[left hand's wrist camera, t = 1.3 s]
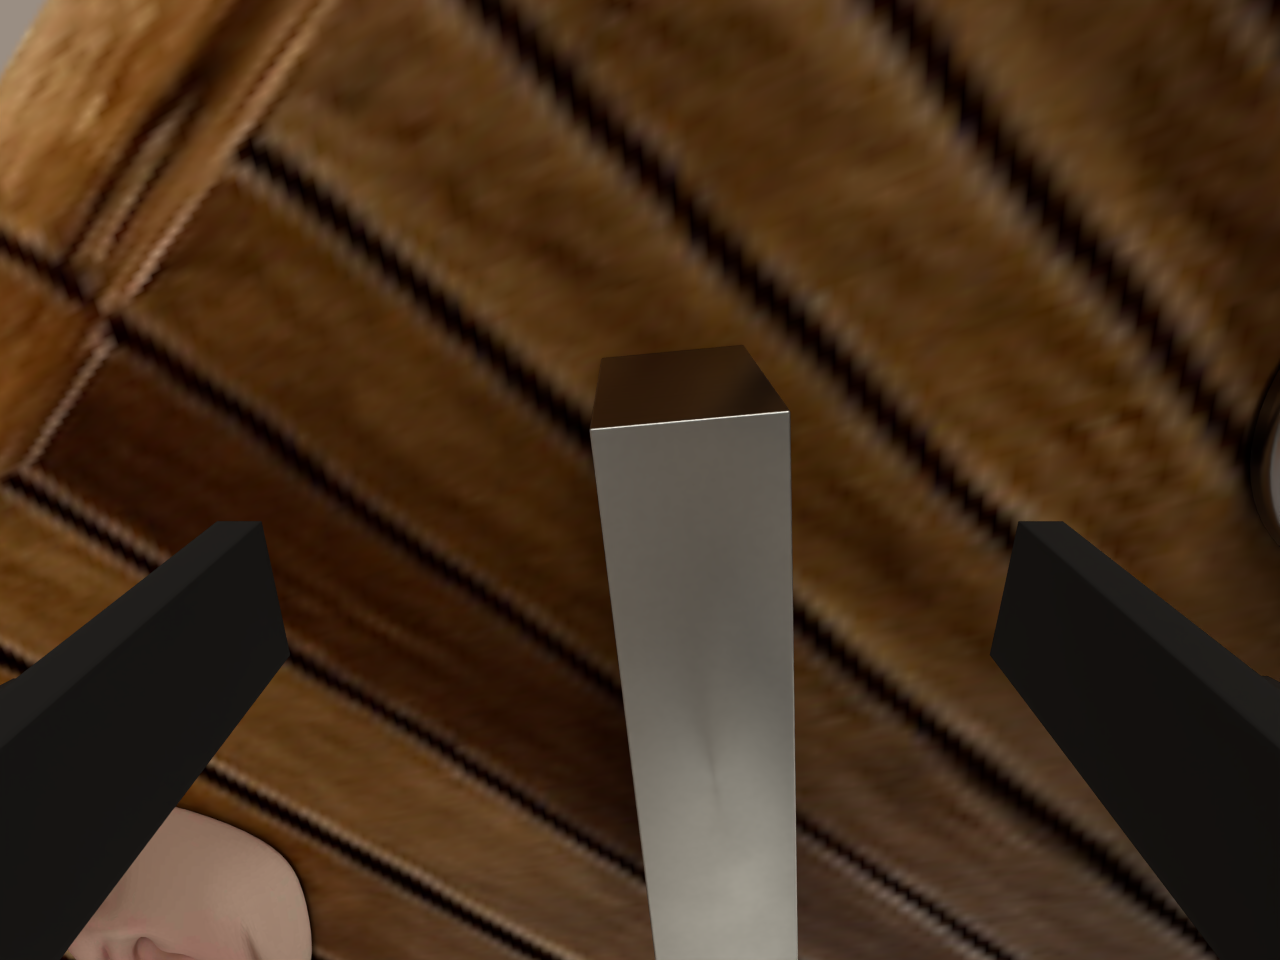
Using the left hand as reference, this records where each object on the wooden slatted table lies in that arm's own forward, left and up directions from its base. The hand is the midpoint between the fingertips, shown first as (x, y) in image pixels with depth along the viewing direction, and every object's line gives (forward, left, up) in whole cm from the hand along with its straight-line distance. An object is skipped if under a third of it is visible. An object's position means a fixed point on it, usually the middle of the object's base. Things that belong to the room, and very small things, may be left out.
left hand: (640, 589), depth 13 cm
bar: (-9, +7, -16) cm, 20 cm away
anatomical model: (0, +36, -16) cm, 39 cm away
